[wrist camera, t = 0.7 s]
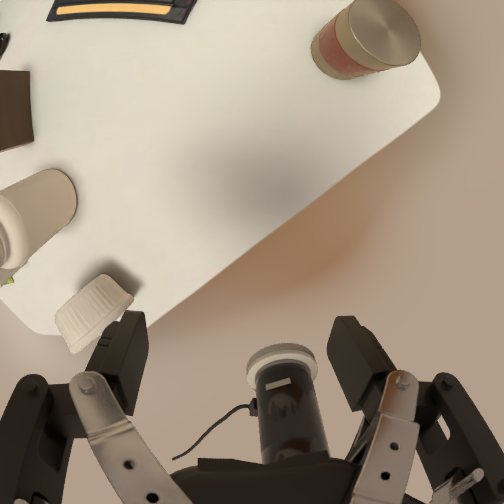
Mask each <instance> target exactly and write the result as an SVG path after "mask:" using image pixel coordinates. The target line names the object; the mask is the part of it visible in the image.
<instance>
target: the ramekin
mask: <svg viewBox="0 0 504 504" xmlns="http://www.w3.org/2000/svg"><path fill="white" fill-rule="evenodd" d="M133 301H134V298H133V296H132V295H131V294H128V293H126V292H125V291H124V290H123V289H122V288H121V287H120V286H119V285H118V284H117V283H116V282H115V281H114V280H113V279H112V278H111V277H109V276H108V275H105V274H101V275H99V276H98V277H96V278H95V279H93V280H92V281H91V282H89V283H88V284H87V285H85V286H84V287H83V288H82V289H81V290H80V291H78V292H77V293H76V294H75V295H74V296H73V297H72V298H71V299H70V300H68V301H67V302H66V303H65V304H64V305H63V306H62V307H61V308H60V309H59V310H58V311H57V313H56V314H55V323H56V325H57V327H58V329H59V331H60V333H61V334H62V336H63V338H64V340H65V341H66V343H67V344H68V346H69V350H70V351H71V353H72V354H73V355H75V354H77V353H78V352H79V351H81V350H82V349H83V348H85V347H86V346H87V345H89V344H90V343H91V342H92V341H93V340H94V339H95V338H97V337H98V336H99V335H100V334H101V333H102V332H103V331H104V329H105V328H106V327H107V326H108V325H109V324H110V323H112V322H113V321H115V320H116V319H117V318H118V317H120V316H121V314H122V313H123V312H124V311H125V310H126V309H127V308H128V307H129V306H130V305H131V304H132V303H133Z"/></svg>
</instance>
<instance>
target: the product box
mask: <svg viewBox="0 0 504 504" xmlns="http://www.w3.org/2000/svg"><path fill="white" fill-rule="evenodd" d="M25 263H26V262H24V263H23V264H22V265H21V266H19V267H17V268H14V269H5V268H2V267H1V268H0V287H2V286H3V285H4V284H5V283H6V282H7V281H8V280H9V279H10V278H11V277H12V276H13V275H14V274H15V273H16V272H17V271H18V270H19V269H20V268H21V267H22V266H23V265H24V264H25Z"/></svg>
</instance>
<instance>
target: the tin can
mask: <svg viewBox="0 0 504 504" xmlns="http://www.w3.org/2000/svg"><path fill="white" fill-rule="evenodd" d="M420 47H421V39H420V34H419V30H418V28H417V26H416V24H415V22H414V20H413V19H412V17H411V16H410V15H409V14H408V12H407V11H406V10H405V9H404V8H403V7H401V6H400V5H399V4H397V3H396V2H394V1H392V0H354V1H353V2H352V3H351V4H350V5H349V6H347V7H346V8H345V9H343V10H342V11H341V12H340V13H338V14H337V15H336V16H335V17H334V18H333V19H332V20H331V21H330V22H329V23H328V24H326V25H325V26H324V27H323V29H322V30H321V31H320V32H319V33H318V34H317V35H316V36H315V37H314V39H313V41H312V44H311V53H312V56H313V59H314V61H315V63H316V64H317V66H318V67H319V68H320V69H321V70H322V71H323V72H324V73H326V74H327V75H329V76H331V77H334V78H337V79H351V78H354V77H359V76H364V75H368V74H372V73H376V72H380V71H384V70H388V69H390V68H395V67H400V66H404V65H407V64H410V63H411V62H413V61H414V60H415V59H416V57H417V56H418V54H419V51H420Z"/></svg>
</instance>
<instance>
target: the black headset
mask: <svg viewBox="0 0 504 504" xmlns="http://www.w3.org/2000/svg"><path fill="white" fill-rule="evenodd" d="M7 40H8V35H7V34H6V33H0V55H1V53H2V52H3V51H4V49H5V47H6V43H7Z"/></svg>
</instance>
